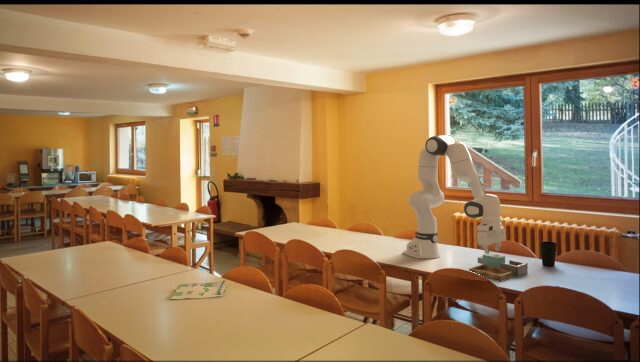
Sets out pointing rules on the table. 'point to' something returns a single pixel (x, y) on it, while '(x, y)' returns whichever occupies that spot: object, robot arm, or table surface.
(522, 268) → the bay
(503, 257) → the green rectangular block
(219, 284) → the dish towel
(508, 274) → the tray
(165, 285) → the table surface
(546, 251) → the cup
